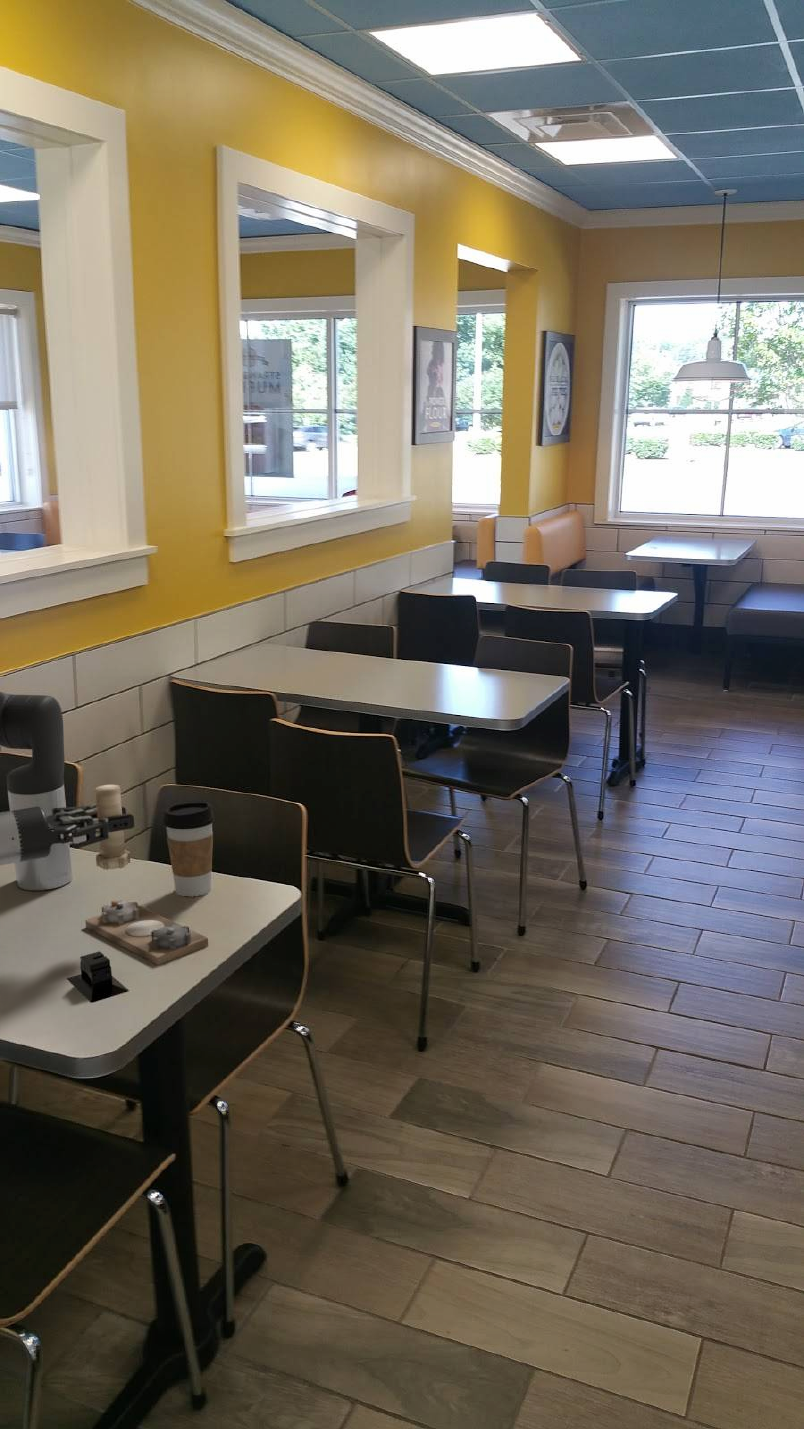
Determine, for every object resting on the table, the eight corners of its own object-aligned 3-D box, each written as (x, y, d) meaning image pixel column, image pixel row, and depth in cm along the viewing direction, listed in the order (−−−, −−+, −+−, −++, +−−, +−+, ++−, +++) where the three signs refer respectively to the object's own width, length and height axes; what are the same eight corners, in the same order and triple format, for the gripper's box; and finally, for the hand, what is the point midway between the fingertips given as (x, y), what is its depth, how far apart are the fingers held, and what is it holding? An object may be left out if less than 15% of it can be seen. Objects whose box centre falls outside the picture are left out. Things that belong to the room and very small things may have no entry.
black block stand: (139, 996, 158) (136, 966, 157) (88, 1012, 154) (85, 981, 153) (104, 966, 168) (101, 937, 167) (55, 980, 164) (52, 950, 163)
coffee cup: (208, 901, 190) (202, 815, 186) (160, 898, 191) (154, 812, 188) (225, 882, 198) (220, 799, 194) (179, 880, 199) (174, 797, 196)
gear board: (85, 927, 180) (84, 907, 180) (135, 910, 187) (133, 891, 186) (157, 964, 167) (156, 943, 166) (208, 945, 173) (207, 925, 172)
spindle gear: (91, 863, 174) (85, 788, 171) (118, 855, 177) (112, 781, 174) (108, 871, 171) (102, 794, 168) (135, 863, 174) (130, 788, 171)
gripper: (20, 825, 159) (141, 805, 167) (0, 799, 171) (114, 781, 179) (25, 876, 160) (145, 853, 169) (5, 847, 172) (118, 827, 181)
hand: (128, 816), depth 174 cm, fingers closed on spindle gear, 3 cm apart
